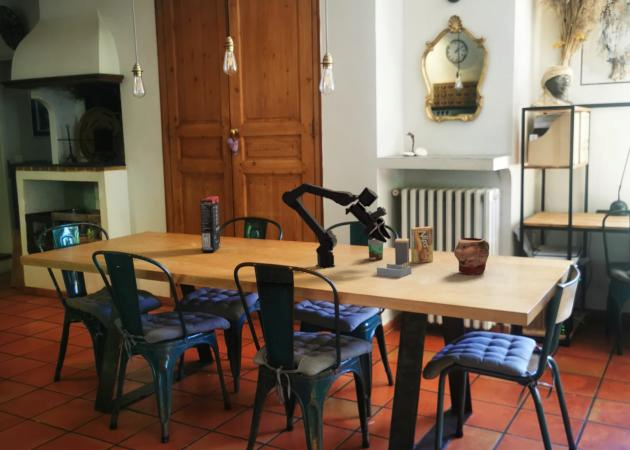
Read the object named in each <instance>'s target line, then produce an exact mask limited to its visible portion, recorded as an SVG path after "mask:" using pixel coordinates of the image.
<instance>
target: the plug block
mask: <svg viewBox="0 0 630 450" xmlns="http://www.w3.org/2000/svg"><path fill="white" fill-rule="evenodd" d="M394 251H395V252H394V254H395V255H394V257H395V258H394V262H395V264H394V265H402V264H403V265H404V263H406V266H407V262H408V266H410V240H409V238H396V239H395V240H394Z"/></svg>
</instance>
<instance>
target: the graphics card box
mask: <svg viewBox="0 0 630 450" xmlns="http://www.w3.org/2000/svg"><path fill="white" fill-rule="evenodd" d="M219 202H220V201H219V196H218V195H217V196H215V195H214V196H213V195H211V196H208V197H206V198H202V199H201V200H199V205H200V230H201V232H200V233H201V235H200V236H201V252H202V253H215V252H216V251H217V250H219V249H220V248H221V233H220V229H221V226H220V205H219V204H220V203H219Z"/></svg>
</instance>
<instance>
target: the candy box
mask: <svg viewBox="0 0 630 450" xmlns="http://www.w3.org/2000/svg"><path fill="white" fill-rule="evenodd" d="M433 237H434V228H433V227H431V226H421V227H411V229H410V248H411V255H410V256H411V257H410V258H411V259H410V261H411V263H413V264H420V263H430V262H431V263H432V262H434V239H433Z"/></svg>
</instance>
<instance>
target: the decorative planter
mask: <svg viewBox="0 0 630 450" xmlns="http://www.w3.org/2000/svg"><path fill="white" fill-rule="evenodd" d="M453 253H454V257H455V258H456V259H457V261H458V272H459V273H461V274H465V275H474V276H475V275H482V274H484V273H485V271H486V267H487V262H488V258H489V255H490V243H489V242H488V241H486V239H484V238H482V237H481V238H480V237H479V238H478V237H461V238H460V239H458V241H457V245H456V247H455V248H454V250H453Z"/></svg>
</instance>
